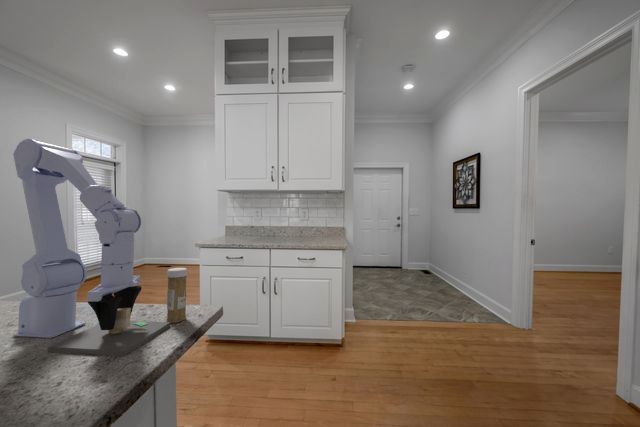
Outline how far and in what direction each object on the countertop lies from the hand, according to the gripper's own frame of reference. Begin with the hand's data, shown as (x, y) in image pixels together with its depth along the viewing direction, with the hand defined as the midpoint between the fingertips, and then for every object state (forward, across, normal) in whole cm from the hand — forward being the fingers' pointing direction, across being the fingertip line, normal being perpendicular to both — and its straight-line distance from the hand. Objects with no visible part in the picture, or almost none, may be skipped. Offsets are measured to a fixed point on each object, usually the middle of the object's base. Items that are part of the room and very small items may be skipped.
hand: (116, 324), depth 59 cm
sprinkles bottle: (+3, +10, -9) cm, 13 cm away
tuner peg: (+2, 0, -2) cm, 3 cm away
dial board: (+3, 0, 0) cm, 3 cm away
